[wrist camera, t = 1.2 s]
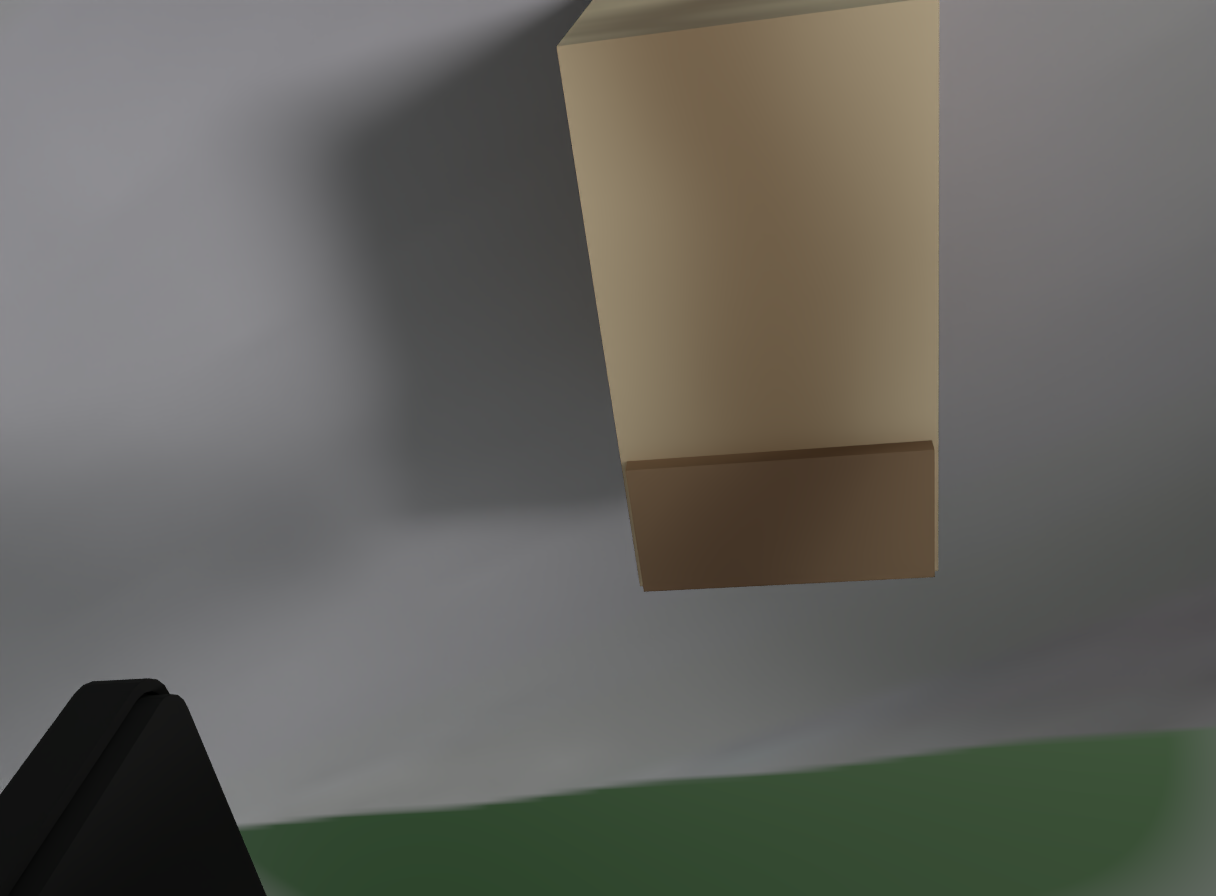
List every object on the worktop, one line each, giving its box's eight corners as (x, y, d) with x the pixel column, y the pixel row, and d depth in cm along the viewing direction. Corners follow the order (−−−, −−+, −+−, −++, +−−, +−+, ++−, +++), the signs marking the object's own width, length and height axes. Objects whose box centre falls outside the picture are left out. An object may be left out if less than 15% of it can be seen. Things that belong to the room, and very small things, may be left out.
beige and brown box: (881, -61, 20) (942, 0, 14) (891, 383, 25) (940, 581, 18) (610, -23, 21) (553, 50, 15) (664, 401, 26) (638, 596, 19)
